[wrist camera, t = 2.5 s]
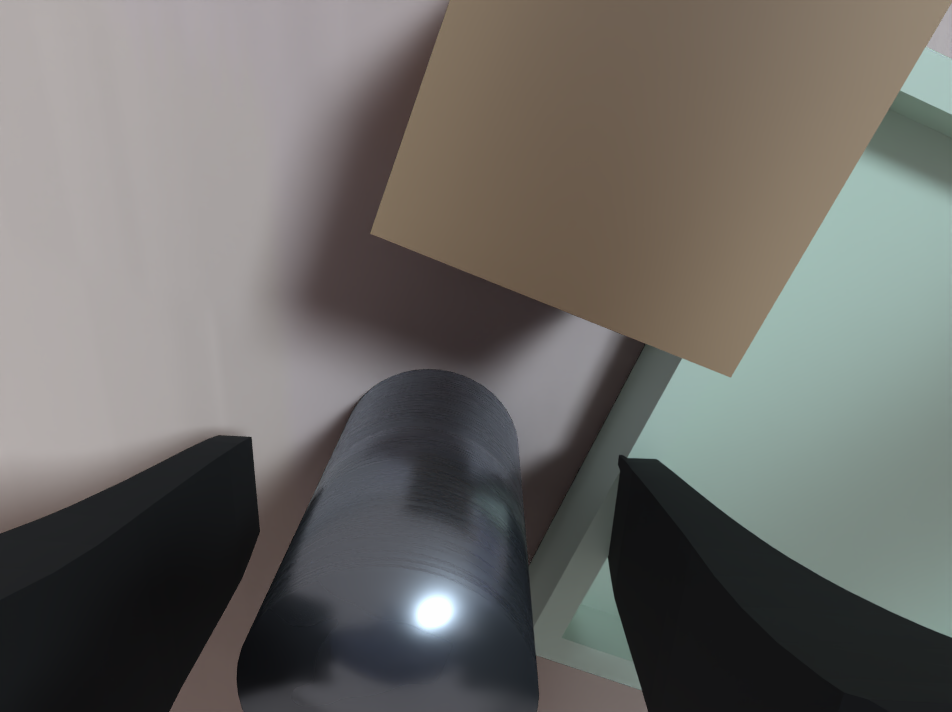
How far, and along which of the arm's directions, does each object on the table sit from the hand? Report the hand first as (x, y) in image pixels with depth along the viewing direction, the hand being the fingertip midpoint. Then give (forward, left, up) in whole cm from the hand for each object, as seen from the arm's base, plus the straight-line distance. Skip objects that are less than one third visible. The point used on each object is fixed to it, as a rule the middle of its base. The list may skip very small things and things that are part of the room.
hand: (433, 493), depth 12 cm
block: (0, -7, -2) cm, 7 cm away
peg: (0, 0, -2) cm, 2 cm away
